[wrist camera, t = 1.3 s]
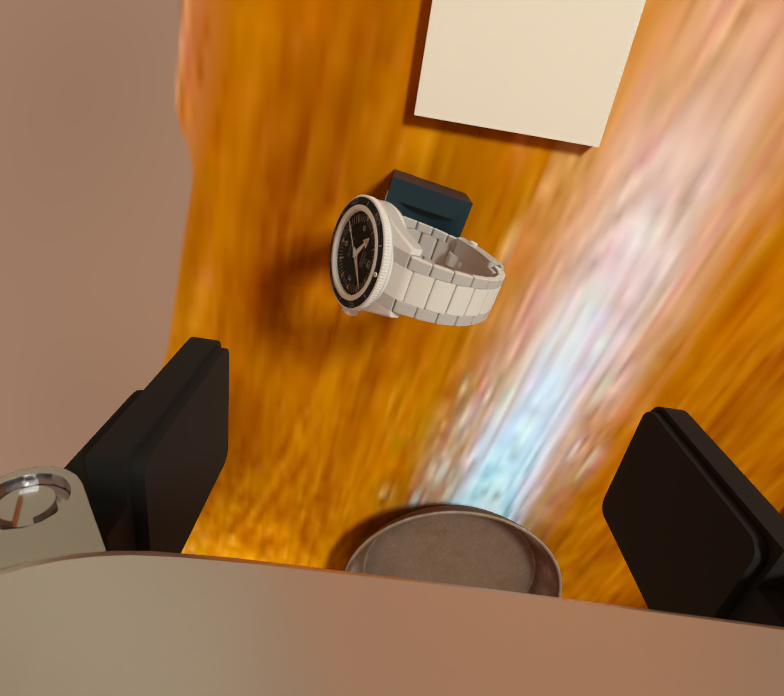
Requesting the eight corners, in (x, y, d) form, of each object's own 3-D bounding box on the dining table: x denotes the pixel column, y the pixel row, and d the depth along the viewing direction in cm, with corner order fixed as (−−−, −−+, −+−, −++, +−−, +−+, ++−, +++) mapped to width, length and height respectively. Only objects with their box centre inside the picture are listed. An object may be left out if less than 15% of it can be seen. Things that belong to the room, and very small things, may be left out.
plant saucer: (336, 487, 39) (331, 516, 36) (564, 484, 38) (576, 513, 35) (352, 631, 47) (349, 664, 44) (541, 630, 46) (550, 663, 43)
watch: (361, 157, 28) (337, 189, 18) (494, 203, 29) (542, 257, 19) (335, 251, 30) (302, 324, 20) (458, 290, 31) (484, 378, 21)
